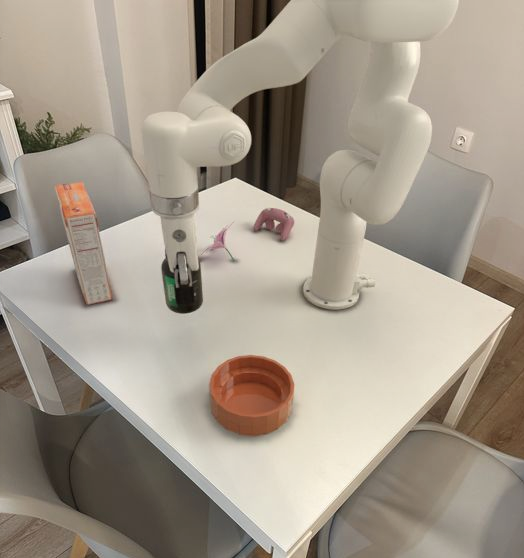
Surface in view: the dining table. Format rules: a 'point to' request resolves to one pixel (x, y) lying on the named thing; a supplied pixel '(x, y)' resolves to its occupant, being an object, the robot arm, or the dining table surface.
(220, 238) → the lily
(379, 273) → the dining table surface
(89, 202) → the cracker box
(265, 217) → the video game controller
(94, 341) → the dining table surface
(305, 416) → the dining table surface
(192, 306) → the supplement bottle
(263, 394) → the bowl
